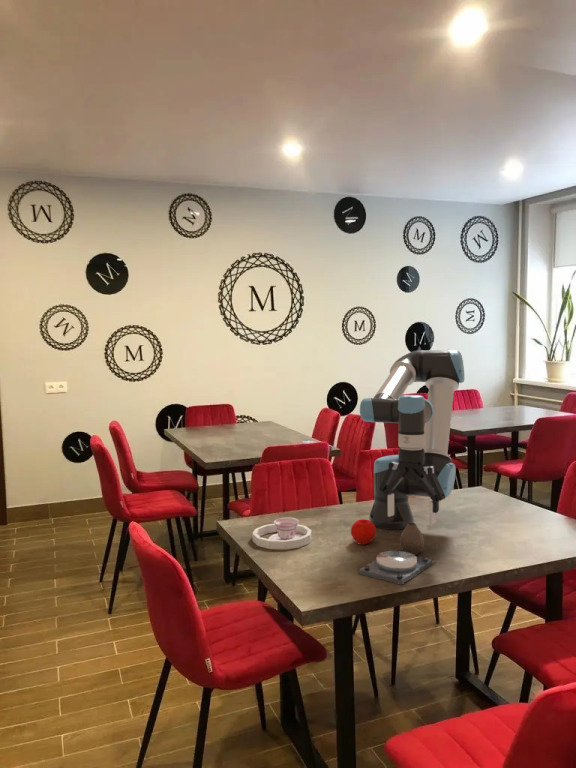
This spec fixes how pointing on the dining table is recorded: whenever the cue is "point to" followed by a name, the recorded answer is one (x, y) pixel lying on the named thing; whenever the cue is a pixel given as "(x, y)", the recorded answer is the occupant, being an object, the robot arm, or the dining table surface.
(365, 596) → the dining table surface
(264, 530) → the saucer ring
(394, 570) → the duct flange
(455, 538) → the dining table surface
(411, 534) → the vase
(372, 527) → the apple
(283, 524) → the teacup
